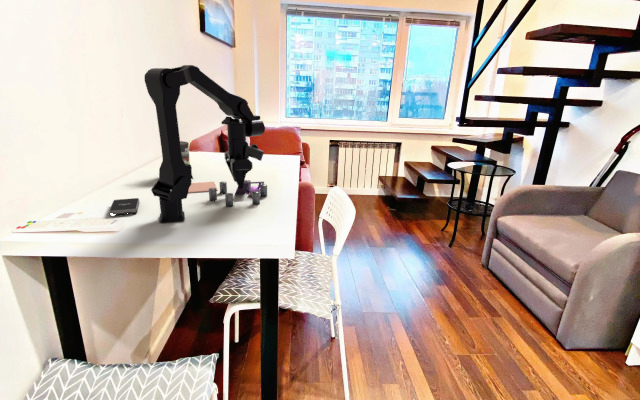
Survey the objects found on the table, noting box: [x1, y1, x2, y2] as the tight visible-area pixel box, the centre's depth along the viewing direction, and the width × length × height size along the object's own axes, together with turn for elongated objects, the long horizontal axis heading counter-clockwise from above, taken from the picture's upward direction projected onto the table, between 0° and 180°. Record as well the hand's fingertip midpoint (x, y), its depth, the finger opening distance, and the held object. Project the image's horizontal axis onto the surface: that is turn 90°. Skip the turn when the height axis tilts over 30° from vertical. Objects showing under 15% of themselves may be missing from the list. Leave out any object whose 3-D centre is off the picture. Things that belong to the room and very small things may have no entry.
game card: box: [234, 181, 265, 197], centre depth 121 cm, size 7×5×9 cm
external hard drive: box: [108, 197, 140, 216], centre depth 104 cm, size 7×11×2 cm, turn 23°
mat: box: [188, 181, 218, 194], centre depth 128 cm, size 12×10×1 cm
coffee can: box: [161, 140, 191, 165], centre depth 140 cm, size 10×10×14 cm
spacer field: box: [208, 179, 268, 208], centre depth 118 cm, size 17×19×4 cm
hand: (238, 184), depth 117 cm, fingers open, 9 cm apart
